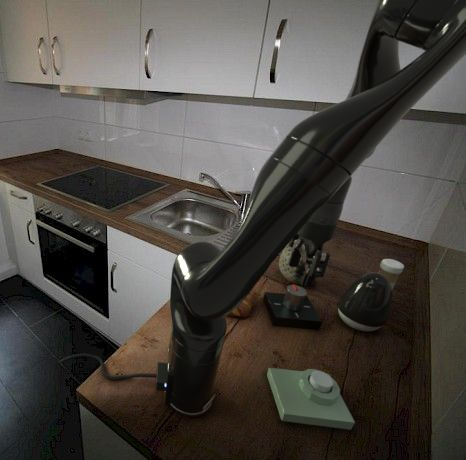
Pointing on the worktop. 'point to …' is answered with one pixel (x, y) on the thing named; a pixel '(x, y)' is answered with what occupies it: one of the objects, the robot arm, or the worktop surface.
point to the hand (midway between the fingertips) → (298, 275)
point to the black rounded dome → (366, 302)
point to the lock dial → (294, 298)
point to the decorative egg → (292, 272)
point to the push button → (320, 381)
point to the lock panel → (291, 313)
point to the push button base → (308, 400)
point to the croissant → (244, 307)
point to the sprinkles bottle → (391, 270)
